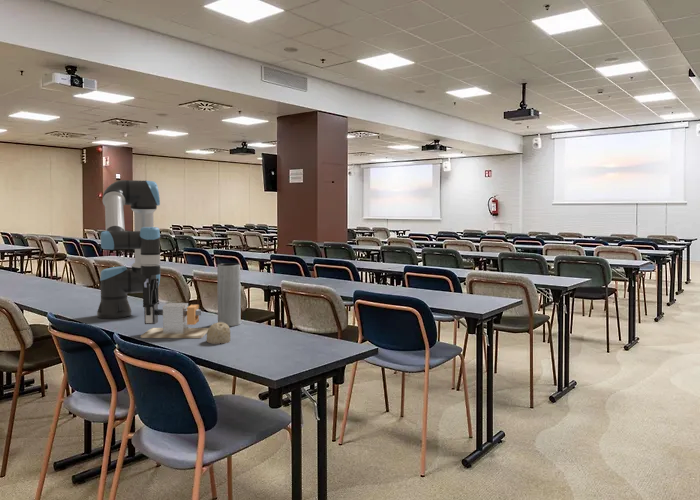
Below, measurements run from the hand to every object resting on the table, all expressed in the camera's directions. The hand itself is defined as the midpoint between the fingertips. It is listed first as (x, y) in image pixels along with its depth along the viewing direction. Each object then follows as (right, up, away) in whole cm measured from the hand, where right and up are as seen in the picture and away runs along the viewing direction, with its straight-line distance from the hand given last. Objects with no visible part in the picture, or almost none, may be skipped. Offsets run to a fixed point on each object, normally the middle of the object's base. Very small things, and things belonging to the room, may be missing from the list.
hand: (151, 321), depth 225 cm
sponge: (+30, -7, -11) cm, 33 cm away
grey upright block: (+10, -5, +1) cm, 11 cm away
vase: (+27, -4, +21) cm, 35 cm away
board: (+10, -5, +1) cm, 11 cm away
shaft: (+9, -1, 0) cm, 9 cm away
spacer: (+17, +3, 0) cm, 17 cm away
